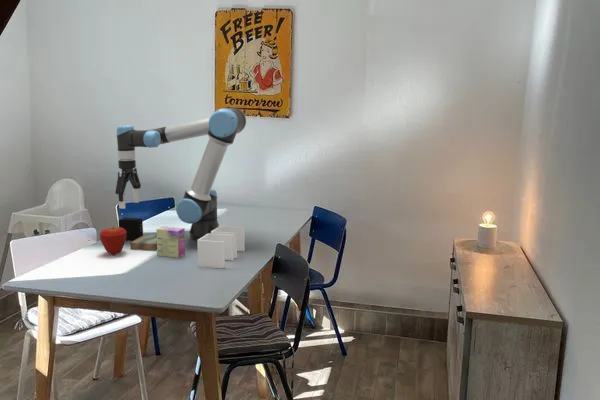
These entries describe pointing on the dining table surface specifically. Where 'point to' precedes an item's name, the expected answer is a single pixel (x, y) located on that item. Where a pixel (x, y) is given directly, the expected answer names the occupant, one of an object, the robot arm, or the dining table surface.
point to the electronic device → (132, 227)
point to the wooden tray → (145, 243)
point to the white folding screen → (220, 246)
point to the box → (171, 242)
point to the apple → (113, 239)
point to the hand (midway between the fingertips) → (129, 205)
